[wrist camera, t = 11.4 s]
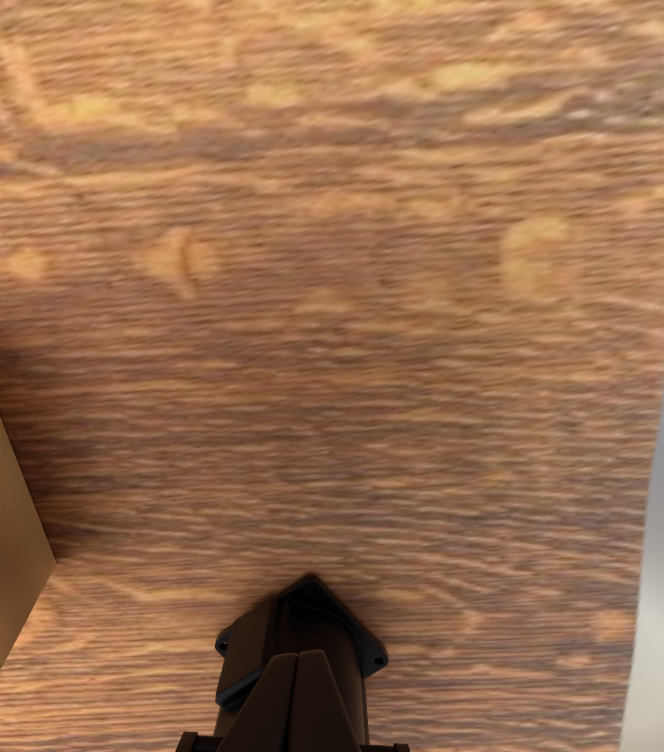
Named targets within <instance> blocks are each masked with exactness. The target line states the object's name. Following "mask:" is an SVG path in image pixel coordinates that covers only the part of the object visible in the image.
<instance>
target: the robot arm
mask: <svg viewBox="0 0 664 752" xmlns="http://www.w3.org/2000/svg"><path fill="white" fill-rule="evenodd" d="M309 585H313V586H314V587H313V588H308V587H307V586H309ZM223 642H226V643H228V644H225V643H223ZM215 649H216V650H217V651H218V652H219V653H220V654H221V655H222V656H223V657H224V658H225V660H224V664H223V668H222V672H221V675H220V679H219V683H218V687H217V691H216V698H215V702H216V703H217V704H218V705H219V706H220V709H219V713H218V717H217V721H216V726H215V730H214V734H213V736H202V735H198V732H183V735H182V737H181V739H180V742H179V744H178V746H177V749H176V751H175V752H410V749H409V746H408V744H399V743H394V745H393V746H383V745H370V742H369V729H368V717H367V704H366V691H365V678H367V677H369V676H370V675H372V674H374V673H375V672H377V671H379V670H380V669H382V668H384V667H385V666H386V665H387V664H388V653H387V650H386V649H385V648H384V647H383V646H382V645H381V644H380V643H379V641H378V640H377V639H376V638H375V637H374V636H373V635H372V634H371V633H370V632H369V631H368V630H367V629H366V628H365V627H364V626H363V625H362V623H361V622H360V621H359V620H358V619H357V618H356V617H355V616H354V615H353V614H352V613H351V612H350V611H349V610H348V609H347V608H346V607H345V605H344V604H343V603H342V602H341V601H340V600H339V599H338V598H337V597H336V596H335V595H334V594H333V593H332V592H331V591H330V590H329V589H328V587H327V586H326V585H325V584H324V583H323V582H322V581H321V580H320V579H319V578H318V577H316V576H313V575H308V576H305V577H303V578H302V579H301V580H299V581H298V582H296V583H295V584H293V585H292V586H290V587H289V588H287V589H286V590H284V591H283V592H281V593H280V594H278V595H277V596H273V597H270V598H269V599H267V600H266V601H264V602H263V603H261V604H260V605H258V606H257V607H255V608H254V609H252V610H251V611H249V612H248V613H246V614H245V615H243V616H242V617H240V618H239V619H237V620H236V621H235V622H234V624H233V625H232V626H230V627H229V628H227V629H226V630H225V631H223V632H222V633H220V634H219V635H218V637H217V640H216V643H215ZM376 657H380V658H376Z"/></svg>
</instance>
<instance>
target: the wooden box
mask: <svg viewBox="0 0 664 752" xmlns="http://www.w3.org/2000/svg"><path fill="white" fill-rule="evenodd" d="M55 565H56V561H55V558H54V555H53V553H52V550H51V548H50V545H49V542H48V540H47V537H46V534H45V532H44V529H43V527H42V524H41V521H40V519H39V516H38V514H37V511H36V508H35V506H34V503H33V501H32V498H31V495H30V493H29V490H28V488H27V485H26V482H25V480H24V477H23V475H22V472H21V469H20V467H19V464H18V462H17V459H16V456H15V454H14V451H13V449H12V446H11V443H10V441H9V438H8V436H7V433H6V430H5V428H4V425H3V423H2V420H1V417H0V670H1V668H2V666H3V664H4V662H5V660H6V658H7V656H8V655H9V653H10V651H11V649H12V647H13V645H14V643H15V641H16V639H17V637H18V636H19V634H20V632H21V630H22V628H23V626H24V624H25V622H26V620H27V618H28V616H29V615H30V613H31V611H32V609H33V607H34V605H35V603H36V601H37V599H38V597H39V595H40V594H41V592H42V590H43V588H44V586H45V584H46V582H47V580H48V578H49V576H50V575H51V573H52V571H53V569H54V567H55Z"/></svg>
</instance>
